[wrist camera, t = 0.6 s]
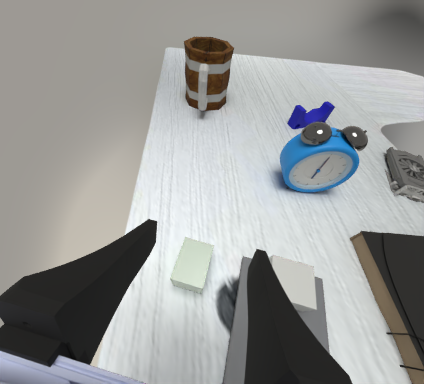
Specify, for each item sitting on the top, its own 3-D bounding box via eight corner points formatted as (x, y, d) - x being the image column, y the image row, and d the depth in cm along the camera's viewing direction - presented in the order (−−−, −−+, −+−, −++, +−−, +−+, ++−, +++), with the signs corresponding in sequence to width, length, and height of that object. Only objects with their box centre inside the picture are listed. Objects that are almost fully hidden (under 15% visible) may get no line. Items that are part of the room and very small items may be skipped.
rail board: (336, 486, 19) (345, 496, 18) (213, 440, 20) (215, 447, 19) (318, 280, 30) (323, 278, 29) (242, 258, 32) (244, 255, 30)
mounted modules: (307, 479, 18) (331, 513, 15) (248, 457, 19) (259, 485, 15) (300, 272, 30) (313, 266, 27) (264, 262, 30) (272, 254, 27)
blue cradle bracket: (314, 116, 61) (324, 98, 57) (323, 124, 59) (334, 106, 54) (284, 121, 58) (293, 102, 53) (292, 129, 56) (302, 111, 51)
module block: (201, 293, 28) (202, 288, 24) (173, 285, 28) (170, 278, 24) (211, 255, 31) (214, 245, 27) (186, 248, 32) (185, 237, 28)
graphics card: (465, 206, 39) (406, 187, 41) (445, 214, 42) (391, 196, 44) (435, 156, 49) (388, 143, 50) (421, 166, 52) (377, 153, 53)
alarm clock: (273, 190, 41) (308, 133, 29) (270, 169, 45) (300, 112, 33) (331, 196, 41) (388, 143, 29) (323, 176, 45) (371, 121, 33)
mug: (188, 87, 65) (188, 33, 53) (226, 93, 65) (234, 40, 53) (177, 119, 54) (173, 59, 41) (223, 125, 54) (232, 67, 42)
